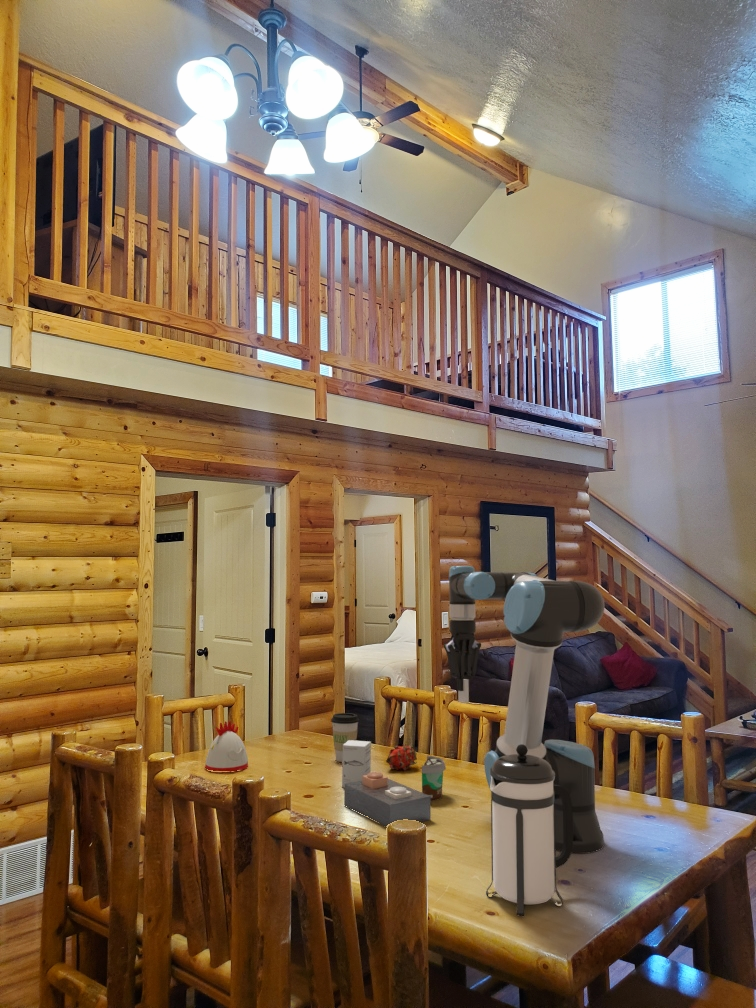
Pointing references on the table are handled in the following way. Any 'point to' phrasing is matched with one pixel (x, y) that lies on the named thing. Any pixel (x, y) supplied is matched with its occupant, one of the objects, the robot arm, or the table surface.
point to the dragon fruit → (401, 757)
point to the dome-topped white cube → (397, 792)
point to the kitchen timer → (227, 751)
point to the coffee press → (526, 829)
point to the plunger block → (387, 803)
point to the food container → (433, 777)
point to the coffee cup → (343, 731)
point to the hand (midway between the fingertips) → (463, 702)
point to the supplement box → (355, 761)
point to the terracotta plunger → (375, 780)
